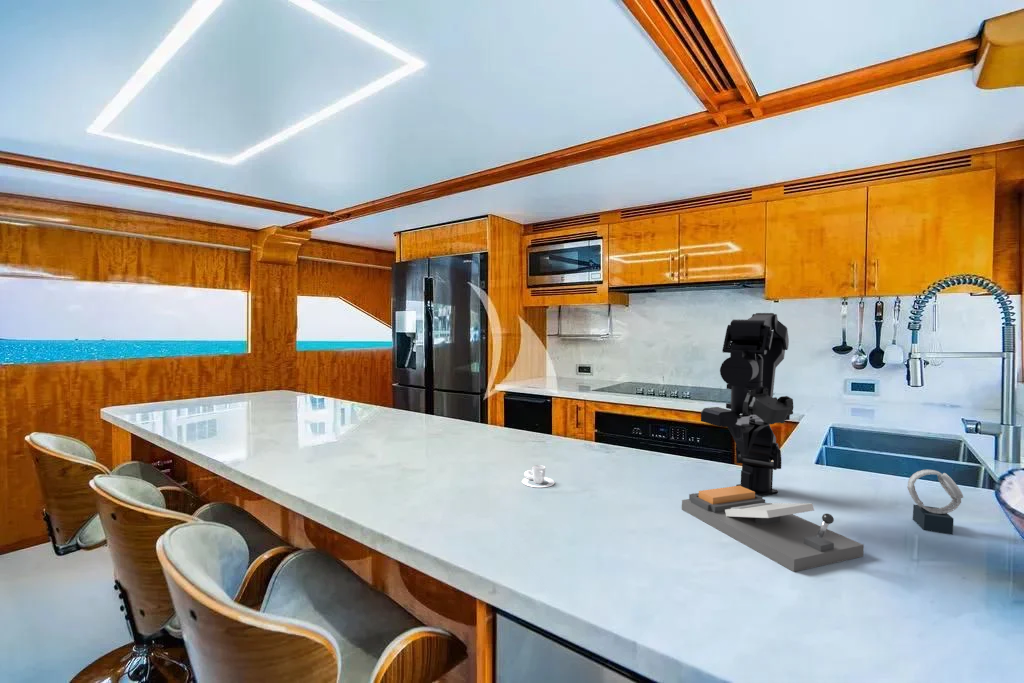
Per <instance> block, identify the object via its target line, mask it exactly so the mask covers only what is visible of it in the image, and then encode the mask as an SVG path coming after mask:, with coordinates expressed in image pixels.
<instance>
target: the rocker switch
mask: <svg viewBox="0 0 1024 683" xmlns="http://www.w3.org/2000/svg"><path fill="white" fill-rule="evenodd" d="M813 511H815V508H814V505H813V503H808V502H807V503H797V502H796V503H793V502H792V503H791V502H788V503H787V502H786V503H783V502H782V503H780V502H779V503H778V502H777V503H776V502H774V503H773V502H765V503H759V504H752V505H745V506H739V507H732V508H731V509H726V510H725V513H726V516H732V517H756V518H772V517H778V516H784V515H790V514H793V515H797V514H802V513H807V512H813Z"/></svg>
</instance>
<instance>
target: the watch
mask: <svg viewBox="0 0 1024 683" xmlns="http://www.w3.org/2000/svg"><path fill="white" fill-rule="evenodd" d="M929 475H933V476H934V475H936V476H937V480H938V483H939V484H940V486H941V487H942V488H943V490H944V491H945V493H946V494H947V495H949V496H950V497H949V498H950V499H951V501H950V502H949V503H948V504H946V505H945V506H943V507H935V506H928V505H924V502H923V501H922V500H921V499H920V498H919V497H920V496H919V494H918V493H917V490H916V486H915V483H916V482H917V480H919V479H920V478H922V477H925V476H929ZM907 490H908V493H909V495H910V497H911V498H912V500H913V501H914V503H915V504H913V506H912V507H913V508H912V520H913V522H915V523H916V524H917V526H919V527H920V528H921V529H922V530H923V531H926V532H933V533H939V534H947V535H953V532H954V519H955V518H954V517H952V516H951V515H950V514H949V513H951V512H952V513H953V512H954V511H955V510H957V509H958V508H959V506H961V504H962V499H964V494H963V492H962V490H961V489H960V488H959V486H958V484H957V483H956V482H955V481H954V479H952V477H951V476H950V475H948V474H947V473H946V472H943V473H942V472H940V471H938V470H937V469H936V470H935V469H922V470H918V471H916V472H914V473H913V474H912V475H911V476H910V477H909V478H908V481H907Z"/></svg>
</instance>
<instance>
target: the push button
mask: <svg viewBox="0 0 1024 683" xmlns="http://www.w3.org/2000/svg"><path fill="white" fill-rule="evenodd" d="M698 493H699V498H701V499H703V500H705V501H707V502H709V503H711V504H720V503H726V502H733V501H740V500H747V499H754V498H755V492H754V491H752V490H749V489H747V488H744V487H742V486H736V485H733V486H727V487H720V488H711V489H703V490H698Z"/></svg>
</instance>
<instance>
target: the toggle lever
mask: <svg viewBox="0 0 1024 683" xmlns="http://www.w3.org/2000/svg"><path fill="white" fill-rule="evenodd" d="M821 519H822V522H821V525H819V526H820V528H819V530H818V533H817V536H818V537H819V538H822V537H823V536H824V534H825V532H826V530H827V529H828V527H829V525H831V524H833V523H834V521H835V520H834V519H835V518H834V516H833V515H832V514H830V513H824V514H822V517H821Z"/></svg>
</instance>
